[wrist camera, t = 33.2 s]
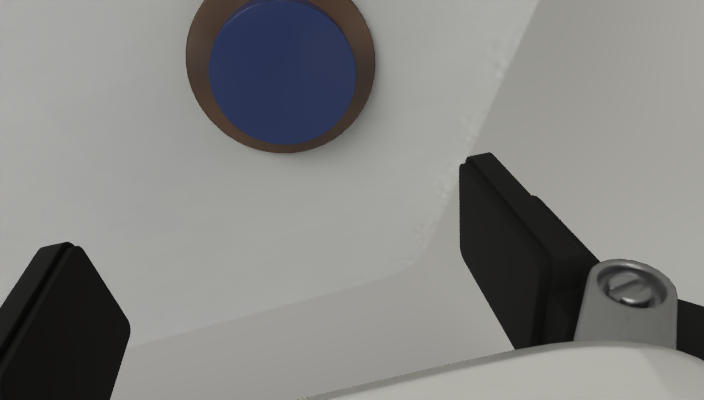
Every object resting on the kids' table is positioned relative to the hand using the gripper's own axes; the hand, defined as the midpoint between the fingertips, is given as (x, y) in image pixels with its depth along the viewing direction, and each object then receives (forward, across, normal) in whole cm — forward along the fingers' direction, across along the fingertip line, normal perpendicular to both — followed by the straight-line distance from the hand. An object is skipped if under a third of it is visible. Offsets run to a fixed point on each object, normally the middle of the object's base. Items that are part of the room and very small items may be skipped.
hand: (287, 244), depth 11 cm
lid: (+12, 0, 0) cm, 12 cm away
